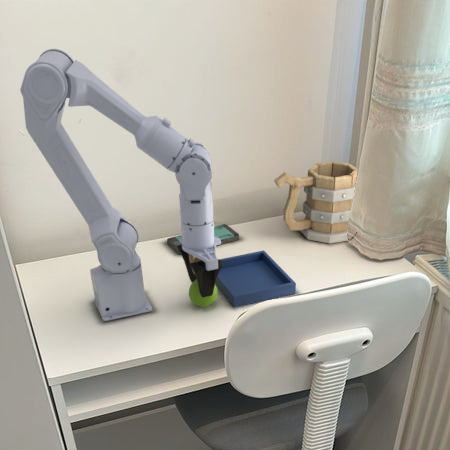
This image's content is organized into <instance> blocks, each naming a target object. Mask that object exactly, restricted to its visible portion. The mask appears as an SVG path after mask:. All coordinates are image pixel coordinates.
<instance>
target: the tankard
mask: <svg viewBox="0 0 450 450" xmlns="http://www.w3.org/2000/svg"><path fill="white" fill-rule="evenodd" d="M358 170H359V169H358V168H357V167H356V166H354V165H353V164H351V163H349V162H342V161H340V162H339V161H335V160H334V161H333V160H330V161H324V162H316V163H314V164H313V165H311V167H310V168H309V169H308V170H307V176H304V177H299V176H295V175H292V174H290V173H287V172H283V173H280V175H278V177H276V178H274V183H275V185H276V186H277V187H278V188H281V187H282V186H283V185H285V184H287V185H289V190H288V196H287V199H286V202H285V205H284V208H283V215H282V217H283V221H284V224H285V225H286V226H287V229H288V230H289V231H299V232H300V233H301V234H302V235H303V236H304V237H305V238H306V239H307V240H308V241H313V242H314V241H315V242H319V243H325V244H329V245H330V244H336V243H341V242H347V241H349V240H348V239H347V229H348V223H349V218H350V212H351V206H352V201H353V196H354V190H355V183H356V177H357V171H358ZM301 187H303V192H304V193H306V197H305V198H306V200H305V201H304V202H303V203H302V214H304V215H305V216H304V218H303V219H299V220H295V213H294V212H295V210H296V208H297V207H296V206H297V204H298V201H299V198H300V192H301Z"/></svg>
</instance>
